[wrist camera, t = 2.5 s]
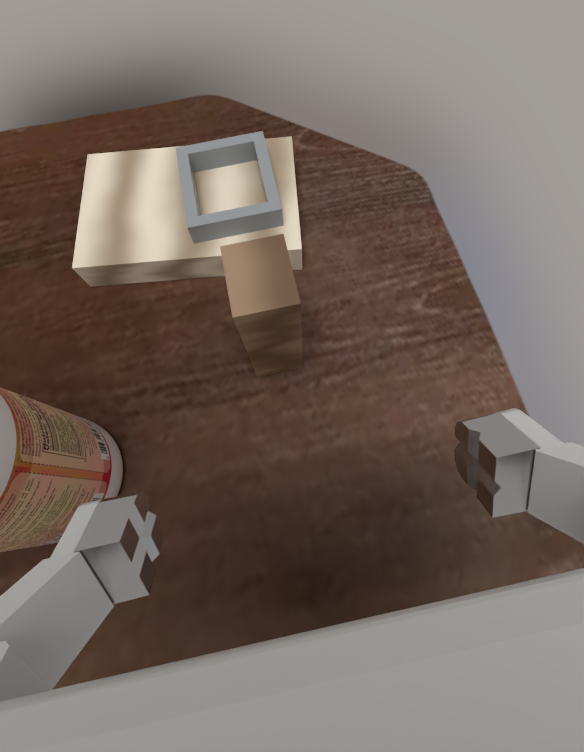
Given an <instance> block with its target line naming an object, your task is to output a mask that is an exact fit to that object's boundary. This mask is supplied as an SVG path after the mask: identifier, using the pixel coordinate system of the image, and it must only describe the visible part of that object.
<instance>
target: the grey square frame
mask: <svg viewBox="0 0 584 752" xmlns="http://www.w3.org/2000/svg"><path fill="white" fill-rule="evenodd" d="M176 154H177V161H178V168H179V175H180V182H181V188H182V195H183V202H184V209H185V216H186V223H187V228H188V231H189V233H190V235H191V237H192V240H193V242H194V244H195V243H200V242H205V241H210V240H215V239H220V238H225V237H230V236H235V235H240V234H245V233H250V232H255V231H260V230H265V229H270V228H275V227H279V226H284V224H283V213H282V207H281V203H280V199H279V195H278V191H277V187H276V183H275V179H274V175H273V171H272V167H271V163H270V159H269V155H268V151H267V147H266V143H265V139H264V135H263V131H260V132H255V133H250V134H245V135H240V136H235V137H229V138H224V139H219V140H214V141H209V142H204V143H199V144H193V145H188V146H183V147H178V148H176ZM256 160H257V164H258V169H259V173H260V177H261V181H262V186H263V190H264V194H265V198H266V202H265V203H260V204H255V205H250V206H245V207H240V208H235V209H230V210H225V211H220V212H215V213H210V214H205V215H201V211H200V205H199V199H198V193H197V187H196V180H195V174H194V172H199V171H205V170H210V169H215V168H220V167H225V166H230V165H235V164H240V163H245V162H251V161H256Z"/></svg>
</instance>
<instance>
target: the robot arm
mask: <svg viewBox="0 0 584 752" xmlns="http://www.w3.org/2000/svg"><path fill="white" fill-rule="evenodd" d="M455 436H456V438H457V439H458V440H459V441H460V442H459V444H458V445H457V447H456V448H455V462H456V465H457V469H458V471H459V473H460V475H461V477H462V479H463V480H464V481H465V483H466V484H467V485H469V486H471V487H473V488H475V489H477V499H478V500H479V501H480V502H481V504H482V505H483V506H484V507H485V509H486V510H487V511H488V513H489V514H490V515H491V516H492V518H493V517H498V516H503V515H508V514H513V513H518V512H523V511H528V513H529V514H531V515H533V516H535V517H537V518H538V519H540V520H542V521H544V522H545V523H547V524H549V525H551V526H553V527H554V528H556V529H558V530H560V531H561V532H563V533H565V534H567V535H569V536H570V537H572V538H574V539H576V540H578V541H579V542H581V543H583V544H584V446H581V445H577V444H574V443H571V442H569V443H562V442H561V441H560V440H558V439H557V438H556V437H554V436H553V435H552V434H551V433H549V432H548V431H547V430H545V429H544V428H543V427H541V426H540V425H539V424H537V423H536V422H535V421H534V420H532V419H531V418H530V417H528V416H527V415H526V414H525V413H523V412H522V411H521V410H519V409H515V408H513V409H509V410H505V411H501V412H497V413H495V414H491V415H486V416H482V417H477V418H473V419H468V420H464V421H460V422H457V423H456V426H455ZM149 505H150V501H149V499H148V498H147V496H146V494H145V493H143V492H136V493H131V494H126V495H121V496H116V497H111V498H106V499H102V500H97V501H92V502H87V503H83V504H82V505H80V506H79V507H78V508H77V510H76V511H75V513H74V515H73V517H72V519H71V521H70V522H69V524H68V526H67V528H66V530H65V531H64V533H63V535H62V537H61V539H60V541H59V542H58V544H57V546H56V548H55V550H54V551H53V553H52V555H51V557H50V558H48V559H44V560H42V561H41V562H40V563H39V564H38V565H36V566H35V567H34V568H33V569H32V570H30V571H29V572H28V573H27V574H26V575H25V576H23V577H22V578H21V579H20V580H19V581H18V582H16V583H15V584H14V585H13V586H12V587H10V588H9V589H8V590H7V591H6V592H5V593H3V594H2V595H1V596H0V752H584V568H581V569H577V570H573V571H568V572H564V573H560V574H555V575H551V576H546V577H542V578H538V579H533V580H529V581H525V582H520V583H516V584H511V585H507V586H503V587H498V588H494V589H490V590H485V591H481V592H477V593H472V594H468V595H464V596H459V597H455V598H451V599H446V600H442V601H438V602H433V603H429V604H425V605H420V606H416V607H411V608H407V609H403V610H398V611H394V612H390V613H385V614H381V615H377V616H372V617H368V618H363V619H359V620H355V621H350V622H346V623H342V624H337V625H333V626H328V627H324V628H320V629H315V630H311V631H307V632H302V633H298V634H293V635H289V636H285V637H280V638H276V639H272V640H267V641H263V642H258V643H254V644H250V645H245V646H241V647H237V648H232V649H228V650H223V651H219V652H215V653H210V654H206V655H202V656H197V657H193V658H189V659H184V660H180V661H175V662H171V663H167V664H162V665H158V666H154V667H149V668H145V669H141V670H136V671H132V672H127V673H123V674H119V675H114V676H110V677H106V678H101V679H97V680H93V681H88V682H84V683H79V684H75V685H71V686H66V687H62V688H58V689H53V688H54V686H55V685H56V684H57V682H58V681H59V680H60V678H61V677H62V676H63V674H64V673H65V671H66V670H67V669H68V667H69V666H70V665H71V663H72V662H73V661H74V659H75V658H76V657H77V655H78V654H79V653H80V651H81V650H82V649H83V647H84V646H85V645H86V643H87V642H88V640H89V639H90V638H91V636H92V635H93V634H94V632H95V631H96V630H97V628H98V627H99V626H100V624H101V623H102V622H103V620H104V619H105V618H106V616H107V615H108V614H109V612H110V611H111V609H112V608H113V607H114V605H113V604H116V603H120V602H124V601H128V600H132V599H136V598H140V597H143V596H147V595H149V594H150V590H151V586H152V582H153V578H154V574H155V570H156V569H155V567H154V565H153V563H152V562H153V561H154V559H155V558H156V557H157V556H158V555H159V554H160V549H161V545H162V531H161V526H160V523H159V520H158V518H157V516H156V515H154V514H153V513H151V512H149V511H148V509H149ZM52 689H53V690H52Z"/></svg>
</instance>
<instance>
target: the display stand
mask: <svg viewBox="0 0 584 752" xmlns="http://www.w3.org/2000/svg"><path fill="white" fill-rule="evenodd" d="M265 143H266V147H267V151H268V155H269V159H270V163H271V167H272V171H273V175H274V179H275V183H276V187H277V191H278V195H279V199H280V203H281V207H282V213H283V224H284V226H279V227H275V228H270V229H265V230H260V231H255V232H250V233H245V234H240V235H235V236H230V237H225V238H220V239H215V240H210V241H205V242H200V243H195V244H194V242H193V240H192V237H191V235H190V233H189V231H188V228H187V223H186V216H185V209H184V202H183V195H182V188H181V182H180V175H179V168H178V161H177V154H176V148H178V147H167V148H156V149H145V150H133V151H122V152H110V153H99V154H88V156H87V163H86V171H85V178H84V185H83V192H82V200H81V207H80V214H79V221H78V228H77V236H76V243H75V250H74V257H73V265H72V269H73V270H74V271H75V272H76V273H77V274H78V275H79V276H80V277H81V278H82V279H84V280H85V281H86V282H87V283H88V284H89V285H90V286H91V287H95V286H107V285H119V284H131V283H143V282H156V281H168V280H180V279H192V278H204V277H217V276H225V272H224V266H223V260H222V255H221V249H220V246H225V245H230V244H235V243H240V242H245V241H249V240H254V239H259V238H264V237H269V236H274V235H279V234H284V238H285V242H286V246H287V250H288V254H289V258H290V262H291V266H292V270H302V245H301V234H300V223H299V212H298V201H297V190H296V179H295V168H294V157H293V146H292V137H281V138H270V139H265ZM179 147H183V146H179ZM194 174H195V180H196V187H197V193H198V199H199V205H200V211H201V215H205V214H210V213H215V212H220V211H225V210H230V209H235V208H240V207H245V206H250V205H255V204H260V203H265V202H266V198H265V194H264V190H263V186H262V181H261V177H260V173H259V169H258V164H257V160H256V161H251V162H245V163H240V164H235V165H230V166H225V167H220V168H215V169H210V170H205V171H199V172H194Z"/></svg>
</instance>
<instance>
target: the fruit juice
mask: <svg viewBox="0 0 584 752" xmlns="http://www.w3.org/2000/svg"><path fill="white" fill-rule="evenodd" d="M122 477H123V462H122V457H121V453H120V450H119V448H118V446H117V444H116V442H115V441H114V439H113V438H112V437H111V435H110V434H109V433H108V432H107V431H106V430H104V429H103V428H102V427H100V426H99V425H97V424H96V423H94V422H92V421H89V420H87V419H84V418H81V417H79V416H76V415H73V414H71V413H68V412H65V411H63V410H60V409H57V408H55V407H52V406H49V405H47V404H44V403H41V402H38V401H36V400H33V399H30V398H28V397H25V396H22V395H20V394H17V393H14V392H12V391H9V390H6V389H3V388H1V387H0V552H5V551H11V550H17V549H24V548H30V547H36V546H42V545H48V544H54V543H58V542H59V541H60V539H61V537H62V535H63V533H64V531H65V530H66V528H67V526H68V524H69V522H70V521H71V519H72V517H73V515H74V513H75V511H76V510H77V508H78V507H79V506H80V505H82V504H83V503H87V502H92V501H97V500H102V499H106V498H111V497H116V496H117V495H118V493H119V490H120V487H121V483H122Z"/></svg>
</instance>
